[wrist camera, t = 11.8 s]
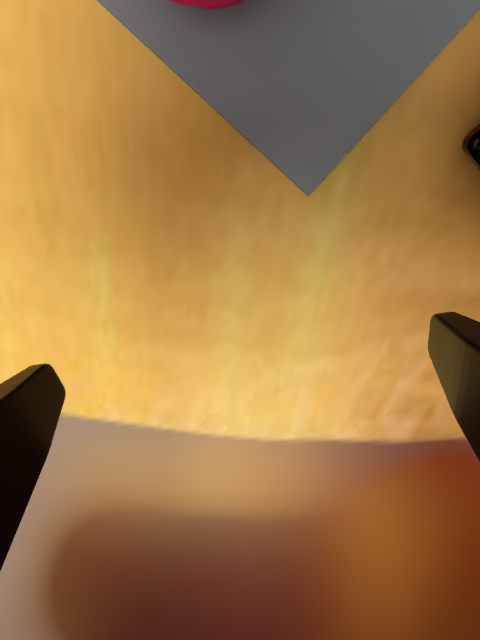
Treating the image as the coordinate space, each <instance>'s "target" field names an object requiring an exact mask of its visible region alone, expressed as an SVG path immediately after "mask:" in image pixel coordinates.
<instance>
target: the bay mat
mask: <svg viewBox="0 0 480 640" xmlns="http://www.w3.org/2000/svg"><path fill="white" fill-rule="evenodd" d="M97 1H98V2H99V3H100V4H102V5H103V6H104V7H105V8H106V9H107V10H108V11H109V12H110V13H111V14H112V15H113V16H114V17H116V18H117V19H118V20H119V21H120V22H121V23H122V24H123V25H124V26H125V27H126V28H127V29H128V30H130V31H131V32H132V33H133V34H134V35H135V36H136V37H137V38H138V39H139V40H140V41H141V42H142V43H144V44H145V45H146V46H147V47H148V48H149V49H150V50H151V51H152V52H153V53H154V54H155V55H157V56H158V57H159V58H160V59H161V60H162V61H163V62H164V63H165V64H166V65H167V66H168V67H169V68H171V69H172V70H173V71H174V72H175V73H176V74H177V75H178V76H179V77H180V78H181V79H182V80H183V81H185V82H186V83H187V84H188V85H189V86H190V87H191V88H192V89H193V90H194V91H195V92H196V93H197V94H199V95H200V96H201V97H202V98H203V99H204V100H205V101H206V102H207V103H208V104H209V105H210V106H211V107H213V108H214V109H215V110H216V111H217V112H218V113H219V114H220V115H221V116H222V117H223V118H224V119H225V120H227V121H228V122H229V123H230V124H231V125H232V126H233V127H234V128H235V129H236V130H237V131H238V132H240V133H241V134H242V135H243V136H244V137H245V138H246V139H247V140H248V141H249V142H250V143H251V144H252V145H254V146H255V147H256V148H257V149H258V150H259V151H260V152H261V153H262V154H263V155H264V156H265V157H266V158H268V159H269V160H270V161H271V162H272V163H273V164H274V165H275V166H276V167H277V168H278V169H279V170H280V171H282V172H283V173H284V174H285V175H286V176H287V177H288V178H289V179H290V180H291V181H292V182H293V183H294V184H296V185H297V186H298V187H299V188H300V189H301V190H302V191H303V192H304V193H305V194H306V195H307V196H309V195H310V194H311V193H312V192H313V191H314V190H315V189H316V188H317V186H318V185H319V184H320V183H321V182H322V181H323V180H324V179H325V178H326V177H327V175H328V174H329V173H330V172H331V171H332V170H333V169H334V168H335V167H336V166H337V165H338V163H339V162H340V161H341V160H342V159H343V158H344V157H345V156H346V155H347V154H348V153H349V151H350V150H351V149H352V148H353V147H354V146H355V145H356V144H357V143H358V142H359V140H360V139H361V138H362V137H363V136H364V135H365V134H366V133H367V132H368V131H369V130H370V128H371V127H372V126H373V125H374V124H375V123H376V122H377V121H378V120H379V119H380V118H381V116H382V115H383V114H384V113H385V112H386V111H387V110H388V109H389V108H390V107H391V105H392V104H393V103H394V102H395V101H396V100H397V99H398V98H399V97H400V96H401V95H402V93H403V92H404V91H405V90H406V89H407V88H408V87H409V86H410V85H411V84H412V83H413V81H414V80H415V79H416V78H417V77H418V76H419V75H420V74H421V73H422V72H423V70H424V69H425V68H426V67H427V66H428V65H429V64H430V63H431V62H432V61H433V60H434V58H435V57H436V56H437V55H438V54H439V53H440V52H441V51H442V50H443V49H444V48H445V46H446V45H447V44H448V43H449V42H450V41H451V40H452V39H453V38H454V37H455V35H456V34H457V33H458V32H459V31H460V30H461V29H462V28H463V27H464V26H465V25H466V23H467V22H468V21H469V20H470V19H471V18H472V17H473V16H474V15H475V14H476V13H477V11H478V10H479V9H480V0H244V1H242V2H241V3H238V4H235V5H232V6H229V7H226V8H219V9H205V8H199V7H196V6H189V5H181V4H178V3H175V2H172V1H169V0H97Z"/></svg>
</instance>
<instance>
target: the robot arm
mask: <svg viewBox="0 0 480 640" xmlns="http://www.w3.org/2000/svg"><path fill="white" fill-rule="evenodd" d="M478 138H479V139H480V125H479V126H478V127H476V128H475V129H474V130H473V131H472V132H471V133H470V134H469V135H468V136H467V137H466V139H465V141H464V143H463V149H464V151H465V153H466V154H467V155H468V156H469V157H470V159H471V160H472V161H473V162H474V163H475V165H476V166H477V167H478V168H479V170H480V144H479V145H478V147H476V148H475V149H473V142H474V141H475V140H476V139H478ZM428 351H429V355H430V358H431V360H432V363H433V365H434V368H435V370H436V373H437V375H438V378H439V380H440V383H441V385H442V388H443V390H444V392H445V395H446V397H447V400H448V402H449V405H450V407H451V409H452V412H453V414H454V416H455V418H456V420H457V422H458V424H459V426H460V427H461V429H462V431H463V433H464V435H465V436H466V438H467V440H468V442H469V444H470V445H471V447H472V449H473V450H474V452H475V454H476V456H477V458H478V460H479V462H480V322H478V321H475V320H473V319H470V318H468V317H465V316H463V315H460V314H458V313H455V312H446V313H438V314H434V315H433V316H432V318H431V321H430V330H429V340H428ZM64 400H65V388H64V386H63V384H62V383H61V381H60V379H59V377H58V376H57V374H56V372H55V370H54V369H53V367H52V366H51V365H49V364H38V365H32V366H30V367H28V368H26V369H25V370H23V371H21V372H20V373H18V374H16V375H15V376H13V377H11V378H10V379H8V380H6V381H5V382H3V383H1V384H0V571H1V568H2V566H3V563H4V561H5V558H6V556H7V553H8V551H9V549H10V546H11V544H12V541H13V539H14V537H15V534H16V532H17V529H18V527H19V524H20V522H21V519H22V517H23V515H24V512H25V509H26V507H27V505H28V502H29V500H30V497H31V495H32V492H33V490H34V487H35V485H36V482H37V480H38V478H39V475H40V473H41V470H42V468H43V466H44V463H45V461H46V458H47V455H48V453H49V449H50V447H51V443H52V440H53V437H54V433H55V430H56V427H57V423H58V420H59V416H60V413H61V410H62V406H63V403H64Z"/></svg>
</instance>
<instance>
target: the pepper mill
mask: <svg viewBox="0 0 480 640" xmlns="http://www.w3.org/2000/svg"><path fill="white" fill-rule="evenodd" d="M169 1H172V2H175V3H178V4H181V5H189V6H196V7H199V8H205V9H219V8H226V7H229V6H232V5H235V4H238V3H241V2H242V1H244V0H169Z"/></svg>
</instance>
